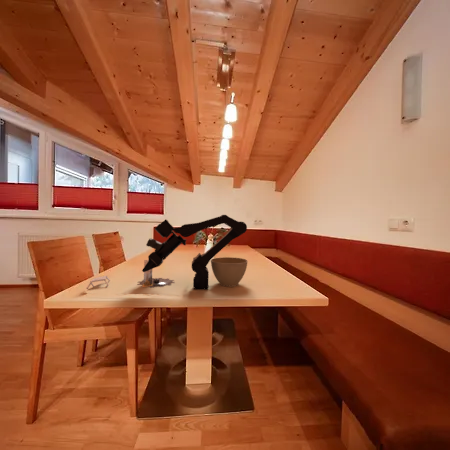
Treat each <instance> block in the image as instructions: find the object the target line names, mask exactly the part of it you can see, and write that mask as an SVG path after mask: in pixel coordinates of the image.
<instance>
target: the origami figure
mask: <svg viewBox="0 0 450 450" xmlns="http://www.w3.org/2000/svg"><path fill="white" fill-rule="evenodd" d="M107 280H108V281H107ZM103 281H104V282H105V284H106V286H105V287H106V288H107V287H109V285H110V284H109V283H110V281H111V279H110V278H109V277H108V275H103V276H98V277H94V278H92V279H91V280H90V282H89V284H88V285H87V287H86V289H87V290H89V287H90V286H92V287H93V288H94V287H95V286H94V284H93V283H97V282H103Z"/></svg>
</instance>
